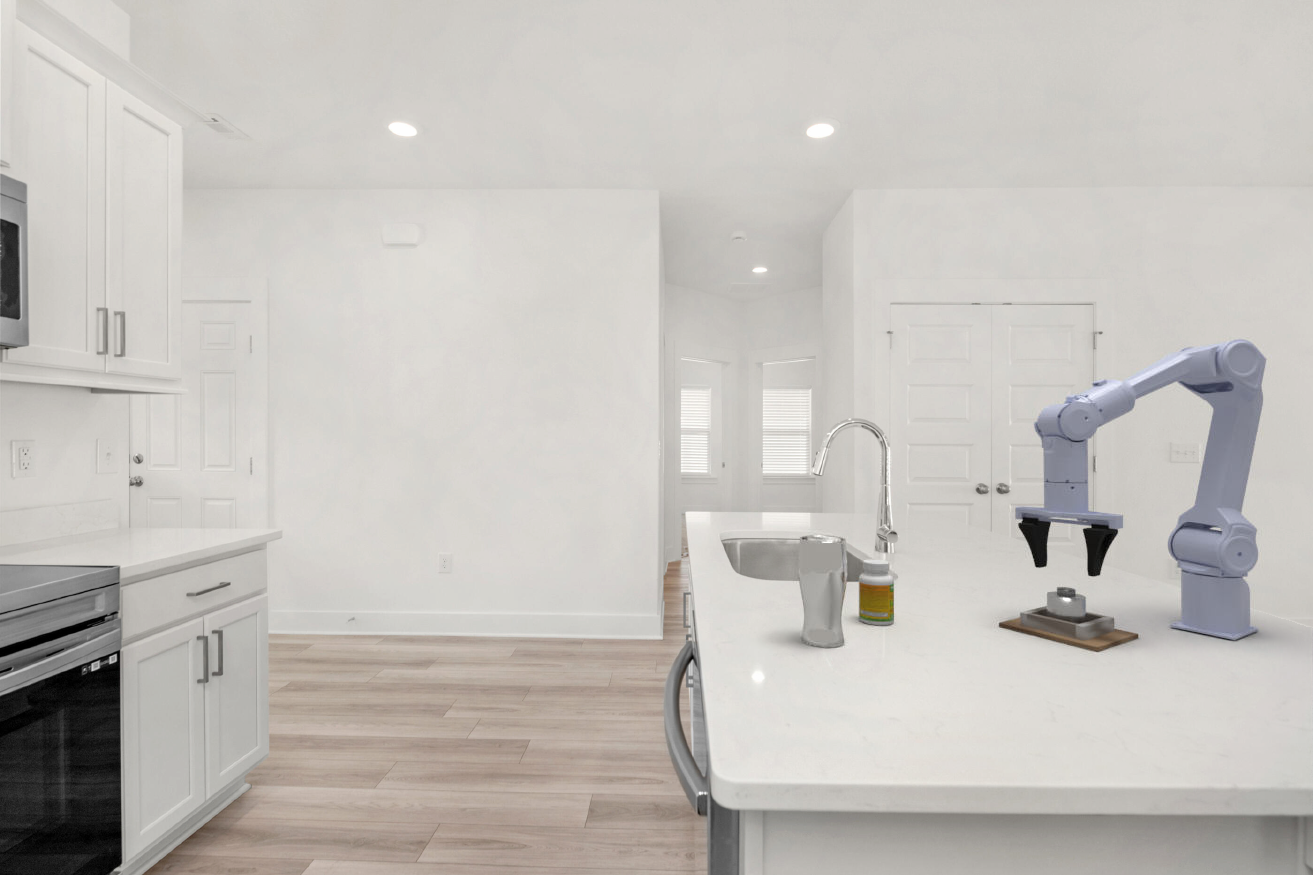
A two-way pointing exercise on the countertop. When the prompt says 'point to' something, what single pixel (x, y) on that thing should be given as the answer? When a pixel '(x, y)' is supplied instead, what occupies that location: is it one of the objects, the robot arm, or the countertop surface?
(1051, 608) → the chrome knobbed weight
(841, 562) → the beer glass
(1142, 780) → the countertop surface
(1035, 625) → the carrier board
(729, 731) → the countertop surface
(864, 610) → the supplement bottle
